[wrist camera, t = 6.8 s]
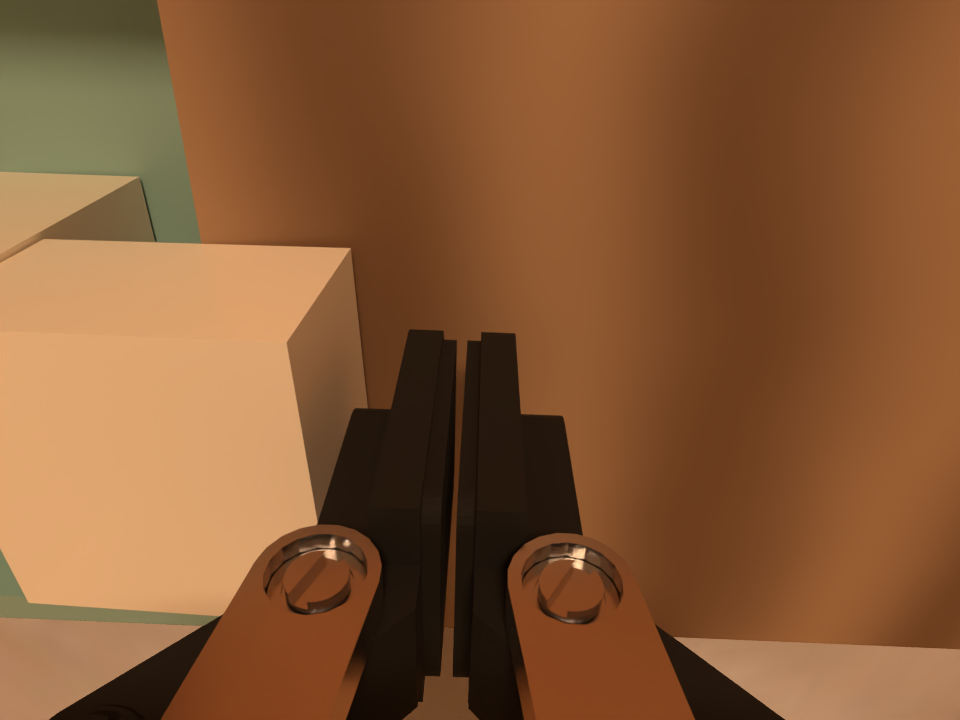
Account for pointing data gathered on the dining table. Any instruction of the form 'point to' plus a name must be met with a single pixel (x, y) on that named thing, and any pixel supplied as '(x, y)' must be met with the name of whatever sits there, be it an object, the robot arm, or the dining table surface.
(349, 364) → the tile
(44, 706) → the dining table surface
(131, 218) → the tile
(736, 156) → the board
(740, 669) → the dining table surface
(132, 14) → the tray
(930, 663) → the dining table surface
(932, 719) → the dining table surface
